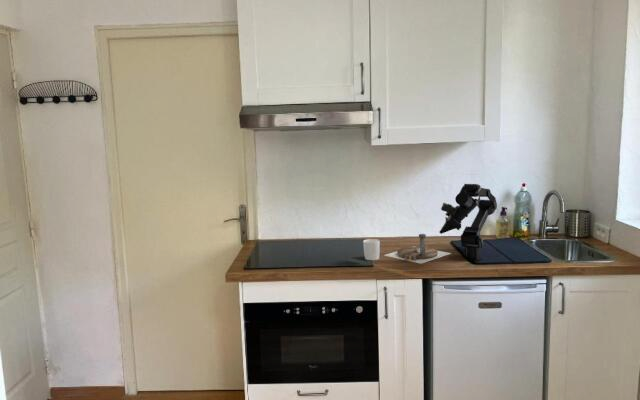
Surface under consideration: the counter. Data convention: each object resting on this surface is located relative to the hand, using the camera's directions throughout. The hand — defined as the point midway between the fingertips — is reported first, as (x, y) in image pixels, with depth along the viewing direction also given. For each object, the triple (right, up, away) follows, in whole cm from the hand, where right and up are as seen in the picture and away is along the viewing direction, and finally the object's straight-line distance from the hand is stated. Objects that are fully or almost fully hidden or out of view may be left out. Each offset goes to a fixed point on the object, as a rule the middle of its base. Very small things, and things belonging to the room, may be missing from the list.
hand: (440, 233), depth 232 cm
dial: (-8, -11, +11) cm, 18 cm away
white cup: (-30, -14, +9) cm, 35 cm away
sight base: (-8, -12, +11) cm, 19 cm away
